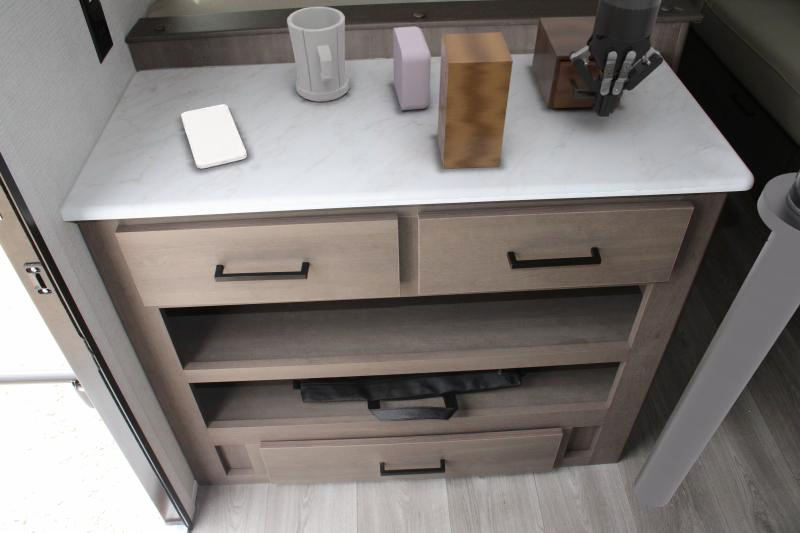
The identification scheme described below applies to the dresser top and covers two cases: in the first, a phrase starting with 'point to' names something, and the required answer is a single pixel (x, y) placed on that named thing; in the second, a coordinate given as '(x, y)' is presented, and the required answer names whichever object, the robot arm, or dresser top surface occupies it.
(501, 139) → the stand
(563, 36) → the cabinet
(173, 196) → the dresser top surface
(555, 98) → the drawer
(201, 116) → the smartphone
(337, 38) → the cup
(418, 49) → the electronic device
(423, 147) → the dresser top surface
